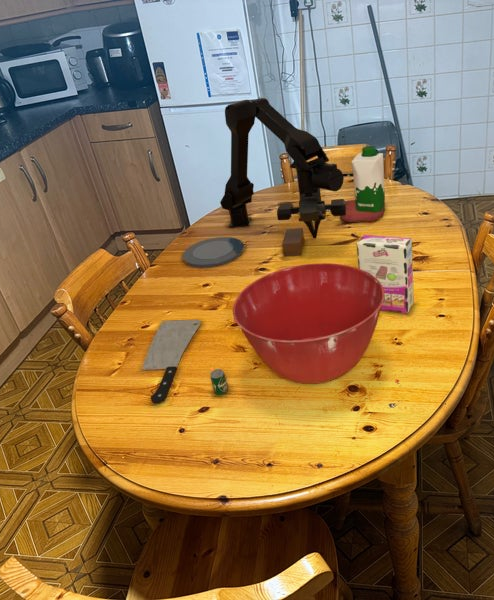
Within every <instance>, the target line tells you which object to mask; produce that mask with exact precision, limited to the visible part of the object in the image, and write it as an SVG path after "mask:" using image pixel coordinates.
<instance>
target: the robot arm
mask: <svg viewBox="0 0 494 600" xmlns="http://www.w3.org/2000/svg"><path fill="white" fill-rule="evenodd" d="M224 117H225V119H224V120H225V125H226V127H227V128H228V129H229V132H230V177H229V178H228V180H227V181H226V183H225V188H224V193H223V196H222V198H221V200H220V202H219V203H220V206H221V208H222V210H227V211H228V214H229V218H230V223H229V224H228V228H229V229H230V228H242V227H243V228H245V227H249V226H250V224H251V221H252V217H251V216H249V214H248V208H247V205H248V204H250V203H252V200H253V199H252V198H253V195H255V192H254V186H255V184H254V183H253V182H251V180H250V179H249V177H248V167H249V166H248V163H249V161H248V159H249V137H250V136H249V135H250V132H251V130H252V128H253V127H254V125H255V123H256V118H257V120H258V121H259V122H261V124H263V125H264V126H265V127H266V128H267V129H268V130H269V131H270V132H271V133H272V134H273V135H275V137H276V138H277V139H278V140H280V141H281V142H282V144H283V145H284V149H285V152H286V153H287V154H288V155H289V157H290V158H291V159H292V160H293V161H292V163H291V164H290V165H289V167H290V169H294V170H295V172H296V179H297V187H298V194H299V201H298V206H294V203H293V202H287V203H280V204H279V205H278V207H277V210H276V218H277V221H289V220H290V219H291V218H292V215H298V222H303V223H304V224H305V226H306V227H307V229H308V231H309V233H310V234H311V236H312V239H317V238H318V233H319V227H320V224H321V223H322V221H324V220H325V219H326V216H327V212H328V213H329V212H330V214H331V215H332V216H333V217H340V216H344V215H346V201H347V200H345V199H344V198H338V199H331V200H330V203H328V204H326V201H325V200H322V195H321V189H322V190H324V191H330V192H338V191H339V190H341V188H342V186H343V185H344V179H345V178H344V177H345V175H344V174H343V171H342V170H341V169H340V168H338V165H337V164H336V163H328V162H330V159H329V157H328V155H327V154H326V153H327V152H325V150H324V149H323V147H322V146H321V144H320V141H319V140H318V138H317V137H316V136H314V135H313V134H311V133H310V132H308V131H306V130H302V129H299V128H297V127H295V125H293V124H292V123H291V122H290V121H289V120H288V119H287V118H285V117H284V116H283V115H282V114H281V113H280V112H279V111H278V110H277V109H275V108H274V107H273V106H272V105H271V104H270V102H269V100H268V99H267V98H265V97H259V98H257V99H253V100H251V101H250V99H243V100H239V101H236V102H233V103H230V104H228V105H226V106H225V108H224Z"/></svg>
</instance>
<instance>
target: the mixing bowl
mask: <svg viewBox="0 0 494 600" xmlns="http://www.w3.org/2000/svg"><path fill="white" fill-rule="evenodd" d="M383 301H384V289H383V286H382V284H381V283H380V282H379V280H378V279H377V278H376V277H374V276H373V275H372V274H370V273H368V272H366V271H364V270H362V269H359V267H356V266H352V265H348V264H341V263H333V262H331V263H330V262H329V263H328V262H323V263H322V262H319V263H317V262H316V263H306V264H299V265H294V266H288V267H285V268H282V269H278V270H275V271H273V272H270V273H268V274H265V275H263V276H261V277H260V278H257V279H256V280H255V281H252V282H251V283H250V284H248V285H247V286H246V287H244V289H243V290H242V291H241V292H239V294H238V296H237V297H236V299H235V301H234V303H233V305H232V306H233V307H232V316H233V319H234V321H235V323H236V324H237V325H238V327H239V328H240V329H241V331H242V333H243V335H244V337H245V338H246V340H247V342H248V343H249V345H250V346H251V348H252V349H253V350H254V352H255V353H256V354H257V355H258V357H259V358H260V359H261V360H262V361H263V363H264V364H265V365H266V366H268V368H269V369H270V370H272V371H273V372H274V373H276V375H279V376H280V377H282V378H284V379H287V380H288V381H292V382H295V383H299V384H320V383H325V382H329V381H332V380H335V379H338V378H339V377H342V376H344V375H346V374H347V373H348V372H350V371H351V370H352V369H353V368H355V366H356V365H357V364H358V363H359V362H360V361H361V359H362V358H363V356H364V354H365V352H366V350H367V348H368V346H369V345H370V343H371V340H372V338H373V335H374V332H375V330H376V327H377V324H378V321H379V316H380V312H381V310H380V308H381V305H382V303H383Z"/></svg>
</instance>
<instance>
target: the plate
mask: <svg viewBox="0 0 494 600" xmlns="http://www.w3.org/2000/svg"><path fill="white" fill-rule="evenodd" d="M244 251H245V244H244V242H243V241H242V240H240V239H239V238H236V237H230V236H219V237H212V238H206V239H203V240H201V241H198V242H196V243H193V244H192V245H190V246H189V247H187V248H186V249H185V250H184V251H183V253H182V260H183V262H184V264H186V265H187V266H189V267H193V268H198V269H199V268H200V269H201V268H203V269H204V268H205V269H206V268H215V267H219V266H222V265H226V264H229V263H231V262H233V261H234V260H236V259H238V258H240V257H241V256H242V255H243V253H244Z"/></svg>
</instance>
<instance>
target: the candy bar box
mask: <svg viewBox="0 0 494 600" xmlns="http://www.w3.org/2000/svg"><path fill="white" fill-rule="evenodd" d="M356 253H357V264H358V268H359V269H362V270H364V271H366V272H368V273H370V274H372V275H373V276H374V277H376V278H377V279H378V280H379V282H380V283H381V284H382V286H383V289H384V301H383V303H382V305H381V308H380V311H386V312H387V311H388V312H392V313H393V312H395V313H401V314H409V313H410V310H411V309H412V307H413V305H414V303H415V302H414V301H415V299H414V298H415V295H414V271H413V270H414V267H413V266H414V265H413V261H414V260H413V259H414V258H413V238H412V237H401V236H400V237H399V236H384V235H373V234H372V235H371V234H363V235H362V237H361V238H360V239H359V240H358V241H357V242H356Z"/></svg>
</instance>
